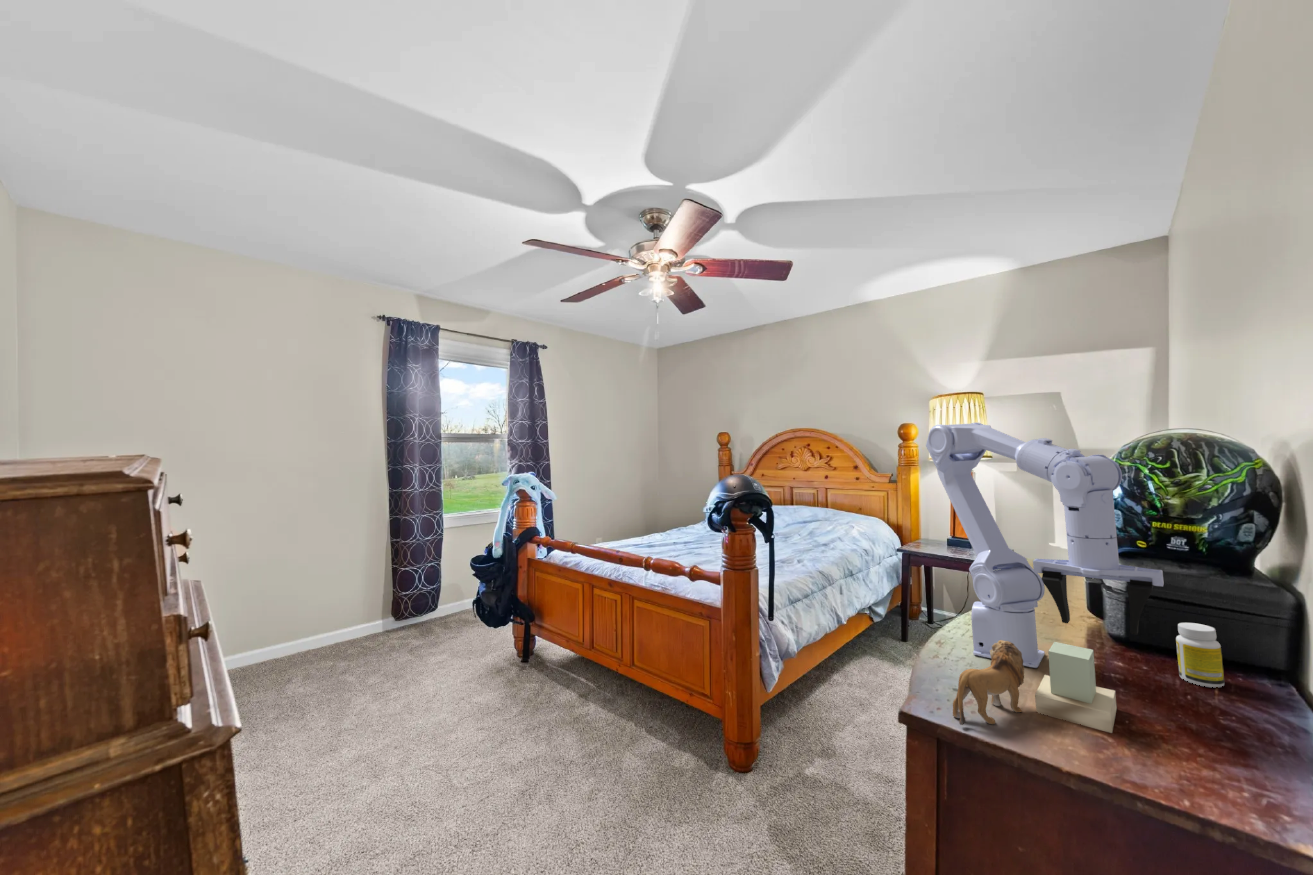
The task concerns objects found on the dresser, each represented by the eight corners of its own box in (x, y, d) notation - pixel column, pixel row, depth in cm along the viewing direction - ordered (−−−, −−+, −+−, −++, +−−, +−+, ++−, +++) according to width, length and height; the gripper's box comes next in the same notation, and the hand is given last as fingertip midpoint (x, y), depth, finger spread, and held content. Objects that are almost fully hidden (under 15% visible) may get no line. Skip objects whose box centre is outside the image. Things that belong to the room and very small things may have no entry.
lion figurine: (997, 691, 77) (992, 633, 77) (1037, 705, 72) (1032, 643, 73) (943, 721, 70) (938, 656, 70) (983, 738, 65) (977, 669, 65)
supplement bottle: (1234, 689, 74) (1229, 632, 74) (1196, 688, 75) (1191, 632, 75) (1205, 674, 78) (1200, 621, 79) (1170, 673, 79) (1166, 621, 80)
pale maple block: (1036, 715, 71) (1034, 694, 71) (1046, 694, 76) (1044, 674, 76) (1112, 736, 65) (1110, 713, 65) (1116, 711, 70) (1115, 690, 70)
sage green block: (1050, 692, 71) (1048, 650, 71) (1057, 682, 74) (1054, 641, 74) (1091, 703, 67) (1088, 659, 68) (1096, 692, 70) (1093, 649, 70)
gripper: (1026, 535, 77) (1033, 623, 77) (1158, 544, 66) (1167, 646, 66) (1035, 529, 82) (1042, 611, 81) (1160, 536, 71) (1168, 631, 71)
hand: (1098, 626), depth 74 cm, fingers open, 7 cm apart
